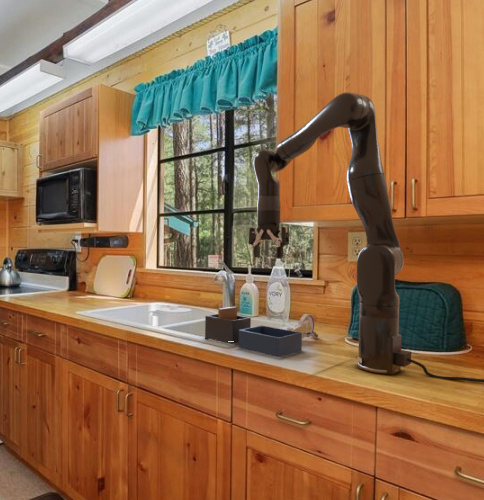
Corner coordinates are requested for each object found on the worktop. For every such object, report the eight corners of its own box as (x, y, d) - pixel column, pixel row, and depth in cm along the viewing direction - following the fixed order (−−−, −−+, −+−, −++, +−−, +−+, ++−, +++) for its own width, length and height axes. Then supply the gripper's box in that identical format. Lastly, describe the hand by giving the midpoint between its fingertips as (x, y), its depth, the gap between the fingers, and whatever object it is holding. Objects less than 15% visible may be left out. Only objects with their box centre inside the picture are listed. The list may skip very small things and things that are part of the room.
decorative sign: (290, 355, 140) (287, 325, 139) (286, 354, 141) (283, 325, 140) (318, 337, 151) (316, 310, 150) (315, 337, 152) (312, 309, 151)
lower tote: (301, 352, 132) (301, 332, 132) (278, 359, 124) (279, 338, 124) (261, 343, 143) (261, 325, 142) (238, 349, 135) (238, 329, 134)
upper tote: (250, 341, 145) (250, 308, 145) (232, 345, 139) (232, 311, 139) (223, 335, 154) (223, 304, 154) (205, 339, 148) (205, 306, 148)
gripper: (244, 210, 150) (244, 257, 150) (281, 208, 139) (280, 258, 139) (257, 211, 155) (256, 257, 155) (293, 209, 144) (293, 258, 144)
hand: (268, 257), depth 147 cm, fingers open, 8 cm apart
